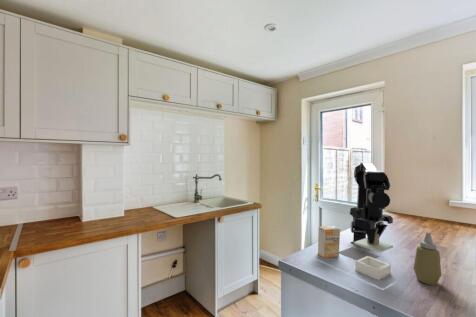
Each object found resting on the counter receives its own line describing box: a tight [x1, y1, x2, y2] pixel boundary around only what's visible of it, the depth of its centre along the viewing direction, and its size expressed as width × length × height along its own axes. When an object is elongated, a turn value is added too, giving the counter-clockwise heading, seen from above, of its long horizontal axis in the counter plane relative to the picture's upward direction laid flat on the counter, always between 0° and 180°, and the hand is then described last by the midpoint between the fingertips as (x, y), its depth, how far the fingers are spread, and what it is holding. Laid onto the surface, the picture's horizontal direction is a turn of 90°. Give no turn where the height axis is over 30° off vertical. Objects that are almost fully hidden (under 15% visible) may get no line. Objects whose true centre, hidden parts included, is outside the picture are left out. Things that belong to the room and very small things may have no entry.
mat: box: [339, 246, 380, 261], centre depth 110 cm, size 13×13×1 cm
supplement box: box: [317, 225, 341, 259], centre depth 109 cm, size 8×5×13 cm, turn 105°
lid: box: [353, 233, 394, 253], centre depth 94 cm, size 10×10×5 cm
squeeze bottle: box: [413, 231, 442, 286], centre depth 88 cm, size 8×8×18 cm
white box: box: [354, 256, 392, 281], centre depth 94 cm, size 9×9×4 cm
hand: (373, 242), depth 94 cm, fingers closed on lid, 3 cm apart
